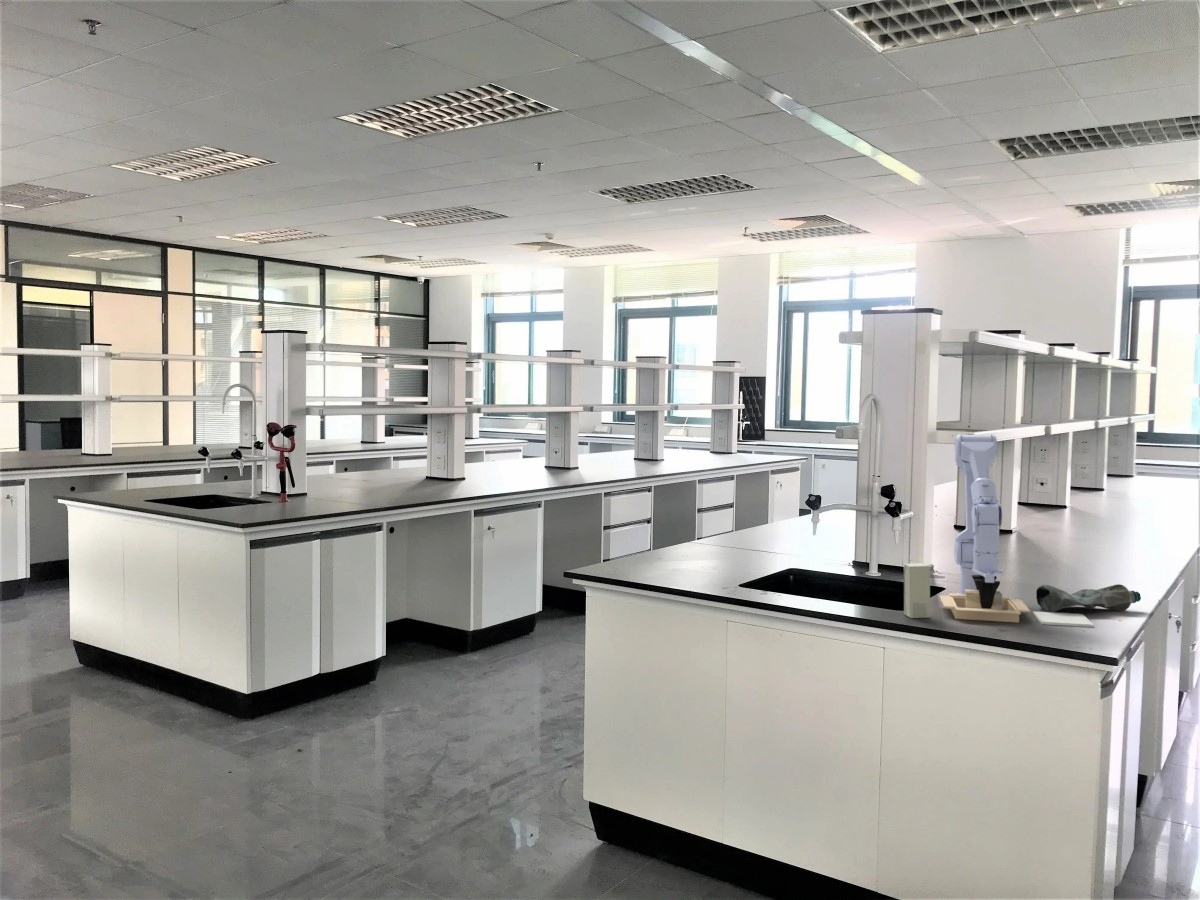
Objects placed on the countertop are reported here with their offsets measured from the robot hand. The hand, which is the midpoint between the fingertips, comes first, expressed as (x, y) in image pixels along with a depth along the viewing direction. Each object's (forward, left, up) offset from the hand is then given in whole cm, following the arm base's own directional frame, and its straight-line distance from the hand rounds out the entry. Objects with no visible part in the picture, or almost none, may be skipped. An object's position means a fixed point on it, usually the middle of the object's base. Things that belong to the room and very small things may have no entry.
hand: (985, 606), depth 220 cm
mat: (+2, +17, -2) cm, 17 cm away
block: (0, 0, -1) cm, 1 cm away
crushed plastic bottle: (-11, +26, -2) cm, 28 cm away
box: (+7, -16, -2) cm, 18 cm away
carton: (0, 0, -2) cm, 2 cm away
